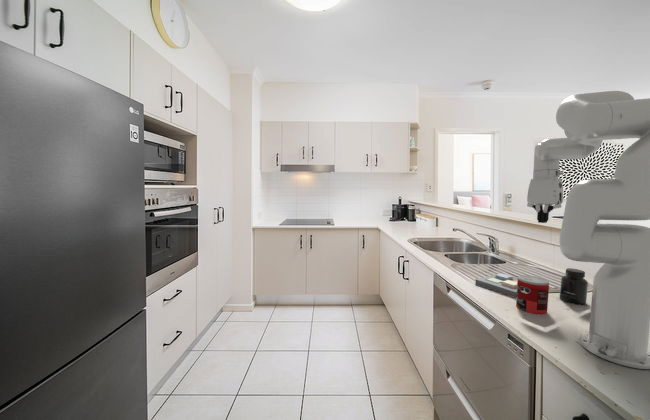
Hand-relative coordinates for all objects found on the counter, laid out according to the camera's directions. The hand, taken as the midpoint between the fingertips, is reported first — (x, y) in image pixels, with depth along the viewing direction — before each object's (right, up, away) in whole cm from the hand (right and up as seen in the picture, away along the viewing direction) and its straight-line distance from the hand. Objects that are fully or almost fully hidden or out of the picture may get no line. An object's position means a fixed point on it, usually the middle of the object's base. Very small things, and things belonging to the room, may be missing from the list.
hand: (542, 222), depth 102 cm
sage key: (-16, -26, +4) cm, 30 cm away
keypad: (-12, -27, +3) cm, 30 cm away
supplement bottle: (+2, -28, -10) cm, 30 cm away
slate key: (-11, -24, +7) cm, 27 cm away
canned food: (-17, -29, -16) cm, 37 cm away
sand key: (-13, -25, -1) cm, 28 cm away
